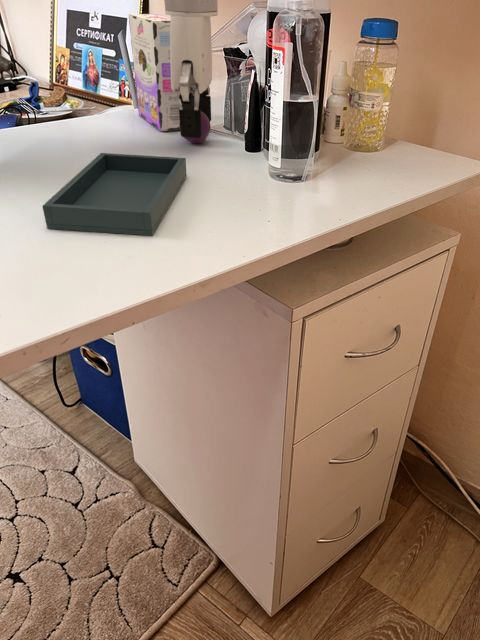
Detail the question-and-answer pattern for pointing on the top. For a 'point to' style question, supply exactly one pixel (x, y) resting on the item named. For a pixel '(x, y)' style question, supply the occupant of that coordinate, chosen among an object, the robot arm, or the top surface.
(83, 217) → the tray
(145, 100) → the candy box
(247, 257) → the top surface
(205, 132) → the grape
